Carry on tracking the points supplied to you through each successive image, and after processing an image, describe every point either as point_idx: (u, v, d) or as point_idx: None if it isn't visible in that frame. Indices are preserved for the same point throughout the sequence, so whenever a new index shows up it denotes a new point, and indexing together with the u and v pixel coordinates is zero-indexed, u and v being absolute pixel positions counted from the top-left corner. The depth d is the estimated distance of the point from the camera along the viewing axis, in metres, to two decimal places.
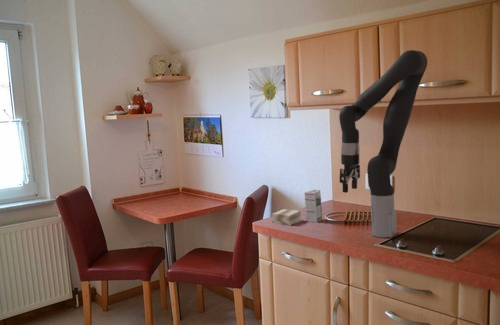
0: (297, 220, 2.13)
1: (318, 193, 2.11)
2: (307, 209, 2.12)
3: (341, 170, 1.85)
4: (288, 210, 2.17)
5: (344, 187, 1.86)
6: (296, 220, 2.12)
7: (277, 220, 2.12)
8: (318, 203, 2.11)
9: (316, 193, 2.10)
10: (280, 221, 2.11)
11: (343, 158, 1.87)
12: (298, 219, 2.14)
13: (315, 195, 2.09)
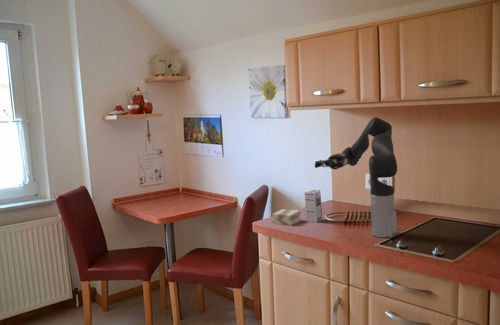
0: (297, 220, 2.13)
1: (318, 193, 2.11)
2: (307, 209, 2.12)
3: None
4: (288, 210, 2.18)
5: None
6: (296, 220, 2.13)
7: (278, 220, 2.12)
8: (318, 203, 2.11)
9: (316, 193, 2.10)
10: (280, 221, 2.11)
11: None
12: (298, 219, 2.14)
13: (315, 195, 2.09)
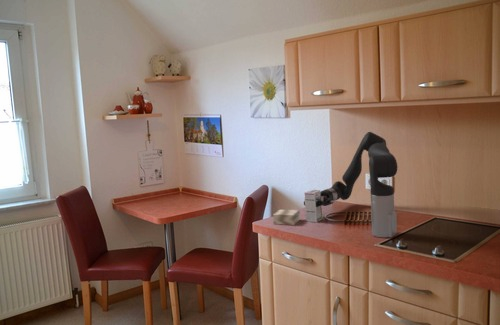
0: (297, 219, 2.14)
1: (318, 193, 2.11)
2: (307, 209, 2.12)
3: None
4: (286, 210, 2.18)
5: None
6: (297, 219, 2.13)
7: (279, 220, 2.11)
8: None
9: (316, 193, 2.10)
10: (282, 221, 2.10)
11: None
12: (298, 218, 2.15)
13: (315, 195, 2.09)
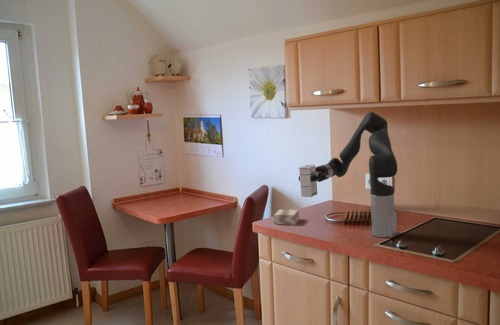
0: (297, 219, 2.15)
1: (313, 168, 2.10)
2: (302, 184, 2.11)
3: None
4: (286, 210, 2.18)
5: None
6: (297, 219, 2.14)
7: (280, 220, 2.11)
8: None
9: (311, 168, 2.08)
10: (282, 222, 2.10)
11: None
12: (298, 218, 2.16)
13: (310, 170, 2.08)
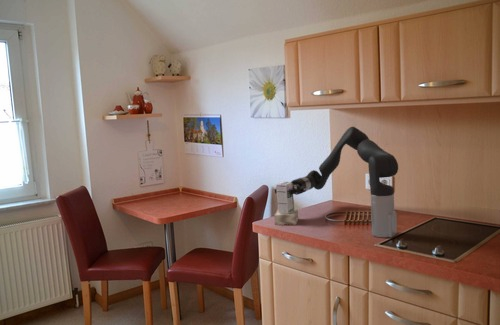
0: (297, 219, 2.15)
1: (290, 185, 2.11)
2: (279, 201, 2.12)
3: None
4: None
5: None
6: (297, 219, 2.14)
7: (281, 221, 2.10)
8: None
9: (287, 185, 2.10)
10: (283, 222, 2.10)
11: None
12: (297, 218, 2.16)
13: (286, 187, 2.09)
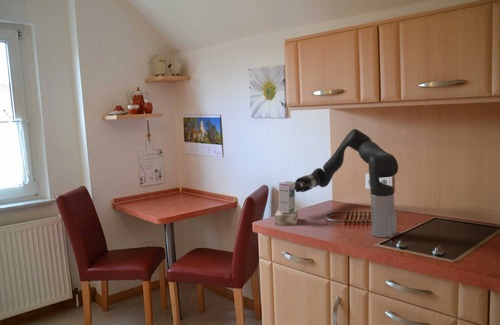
0: (297, 219, 2.15)
1: (293, 184, 2.12)
2: (280, 199, 2.12)
3: None
4: None
5: None
6: None
7: (281, 221, 2.10)
8: (292, 194, 2.12)
9: (291, 184, 2.10)
10: (284, 222, 2.10)
11: None
12: (297, 218, 2.16)
13: (289, 186, 2.09)
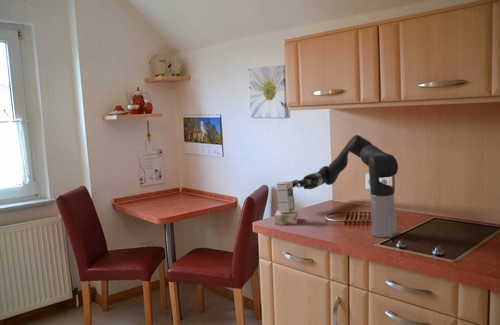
0: None
1: (290, 184, 2.13)
2: (279, 200, 2.13)
3: None
4: None
5: None
6: None
7: (281, 221, 2.10)
8: (290, 193, 2.12)
9: (288, 183, 2.11)
10: (284, 222, 2.10)
11: None
12: (297, 218, 2.17)
13: (287, 185, 2.10)
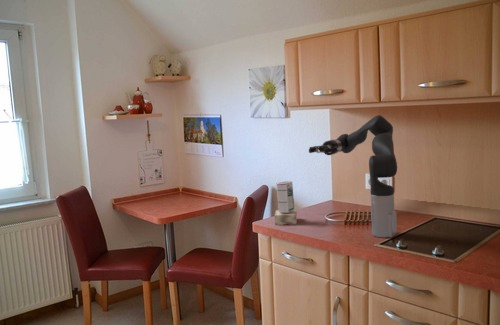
0: (296, 219, 2.16)
1: (290, 184, 2.13)
2: (279, 200, 2.13)
3: None
4: None
5: None
6: (296, 219, 2.15)
7: (281, 221, 2.10)
8: (290, 193, 2.13)
9: (288, 183, 2.12)
10: (284, 222, 2.10)
11: None
12: (296, 218, 2.17)
13: (287, 185, 2.11)
